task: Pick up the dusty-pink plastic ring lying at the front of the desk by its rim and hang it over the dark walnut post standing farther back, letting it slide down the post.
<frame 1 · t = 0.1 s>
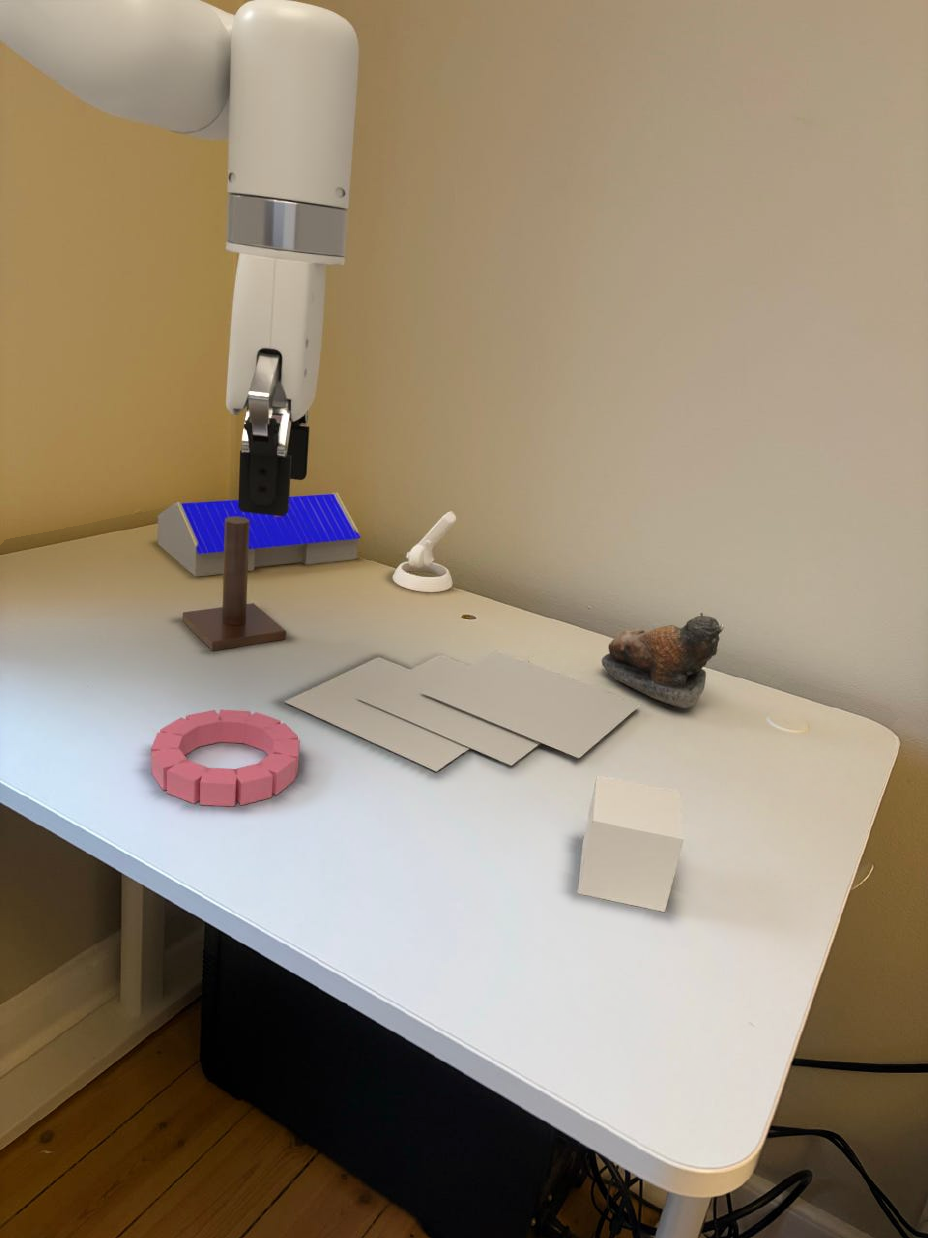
hand: (274, 493, 65), 22 cm above the table, tool pointing down, fingers open, 9 cm apart
ring: (226, 765, 72), on the table
roof: (258, 552, 119), on the table
stand: (233, 630, 96), on the table
off-white cube: (621, 878, 66), on the table
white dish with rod: (422, 582, 117), on the table
bison figurine: (652, 694, 95), on the table
paper stack: (469, 708, 86), on the table
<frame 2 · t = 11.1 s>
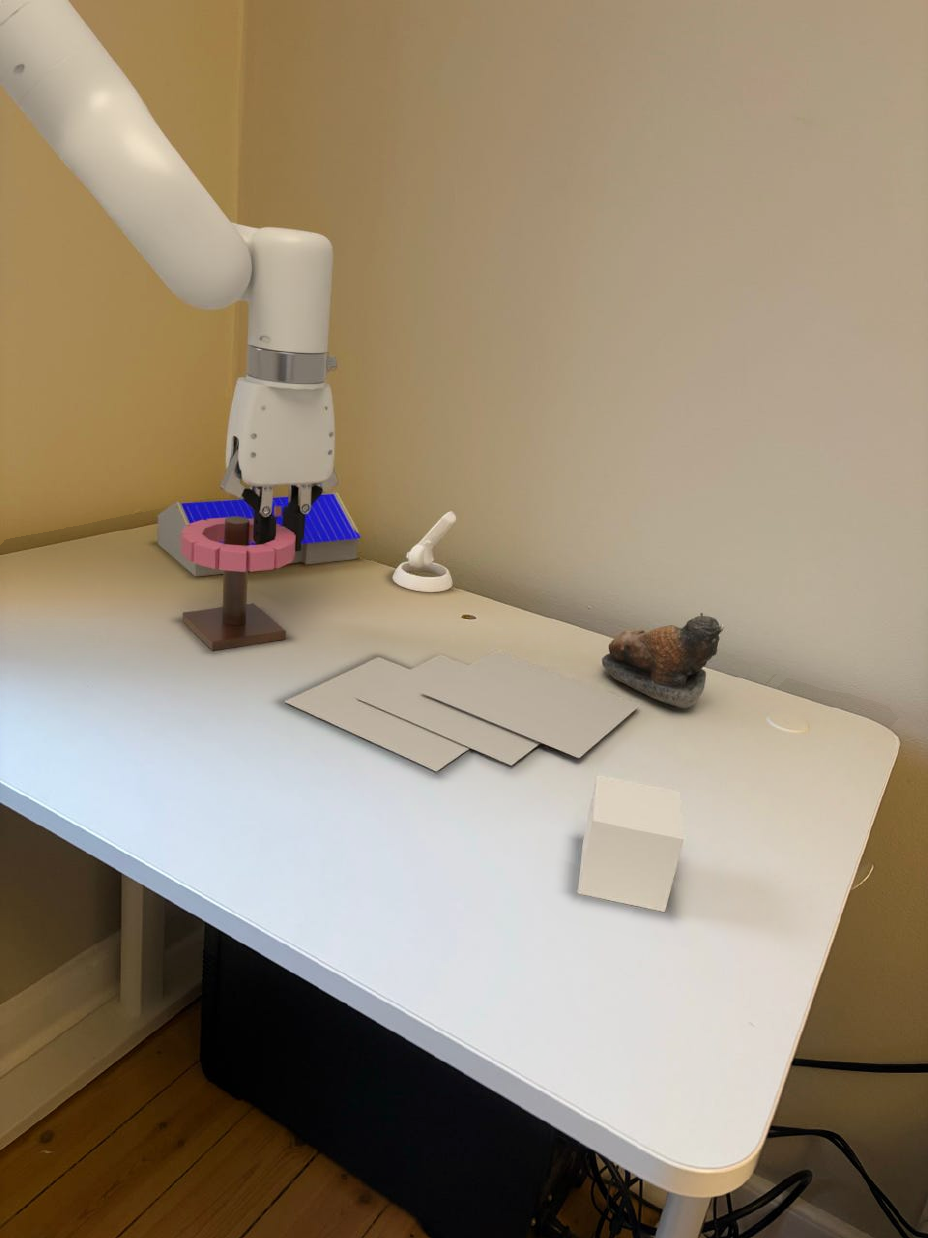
hand: (278, 547, 95), 9 cm above the table, tool pointing down, fingers closed on ring
ring: (238, 552, 93), point 9 cm above the table, touching gripper
everything else where it was.
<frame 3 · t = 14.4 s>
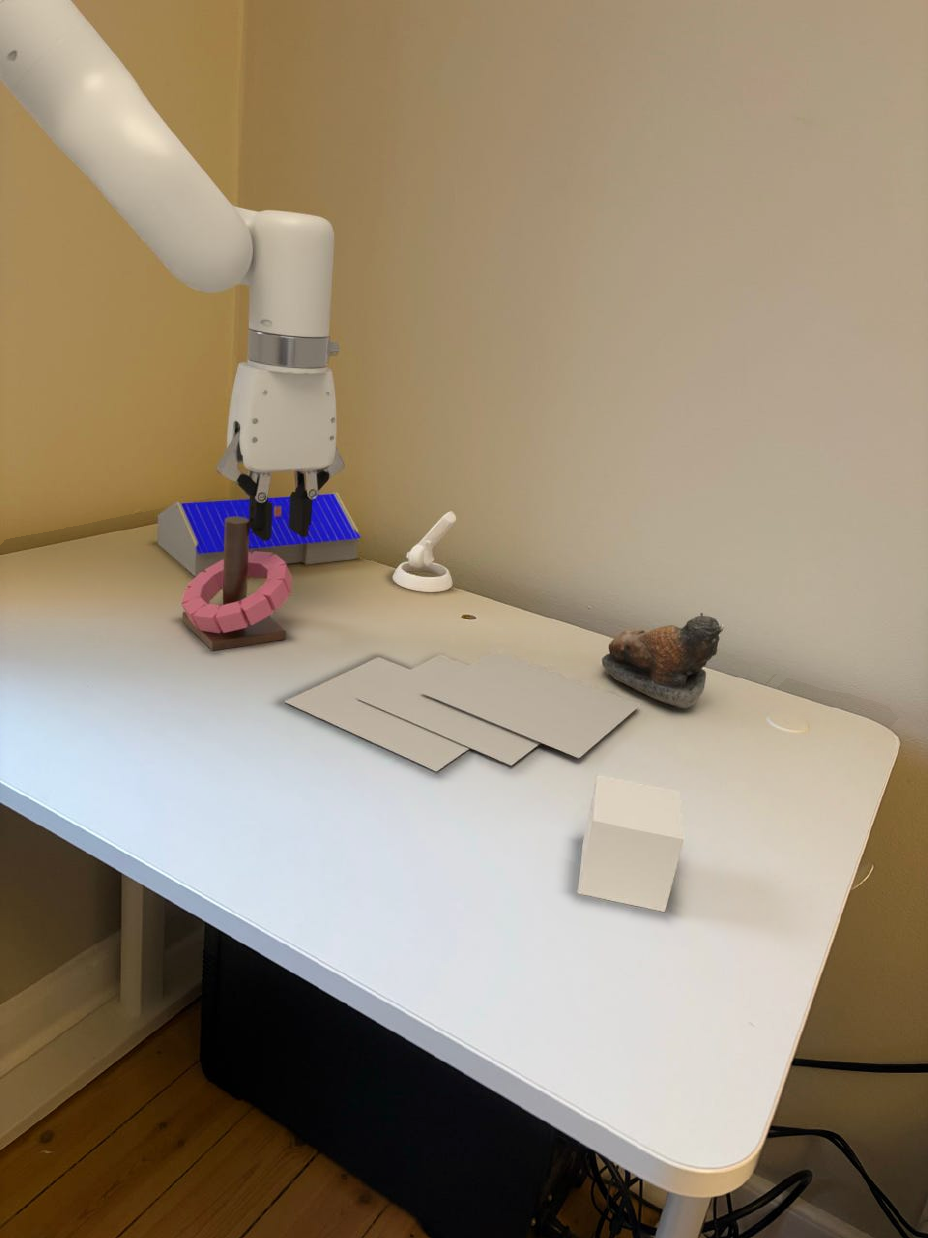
hand: (280, 533, 95), 10 cm above the table, tool pointing down, fingers open, 3 cm apart
ring: (241, 598, 95), point 3 cm above the table, tilted 25°
everything else where it was.
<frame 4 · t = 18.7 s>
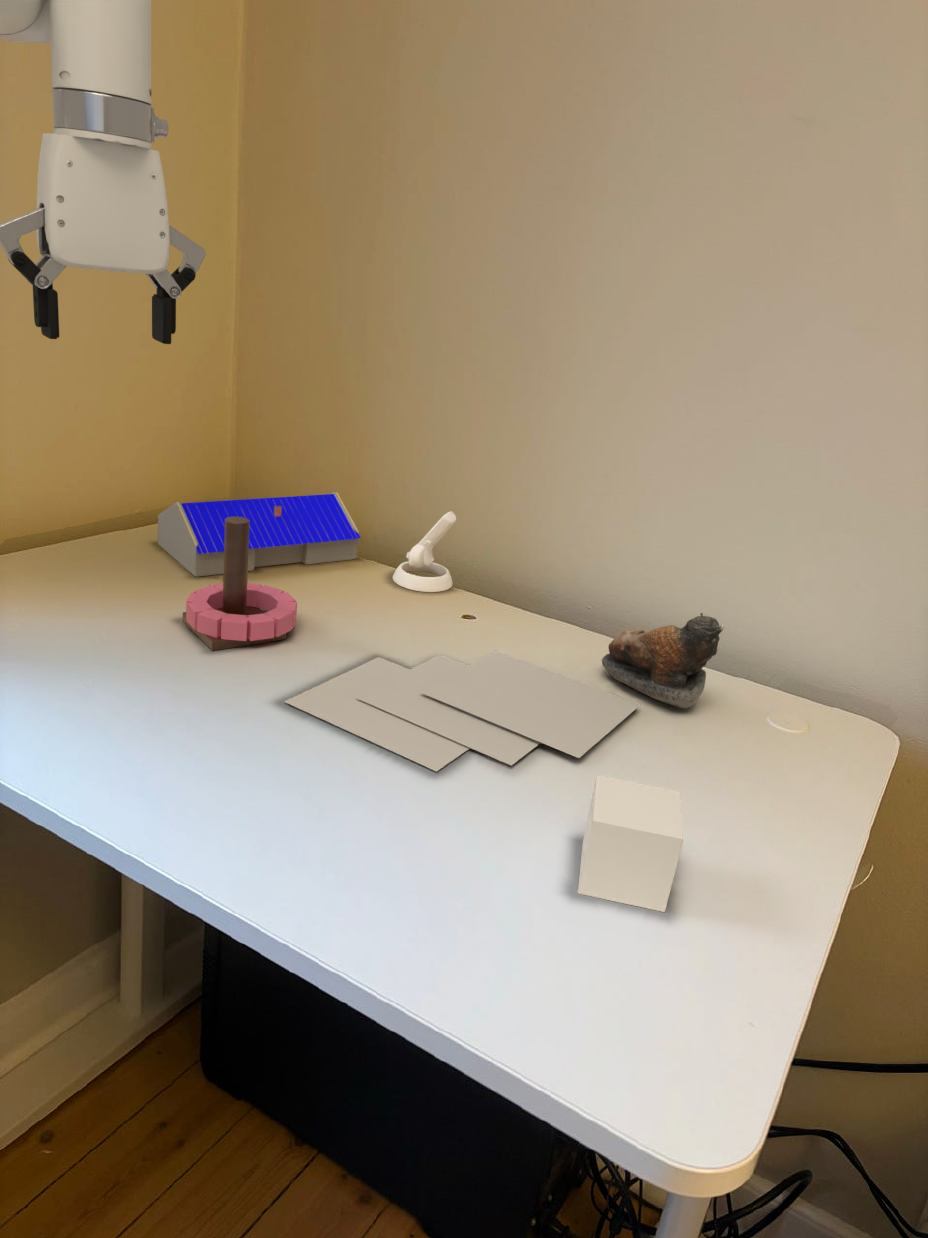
hand: (107, 339, 82), 28 cm above the table, tool pointing down, fingers open, 9 cm apart
ring: (242, 619, 96), point 1 cm above the table, touching stand
everything else where it was.
at the end: ring 1.0 cm off-centre on the stand, point 1.0 cm above the stand's base; the gripper is holding nothing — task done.
